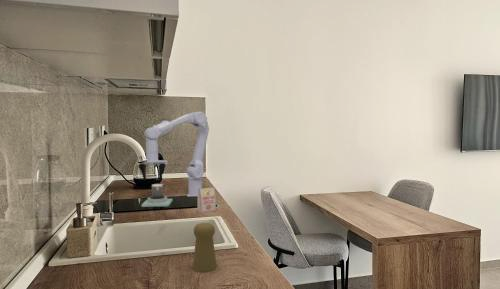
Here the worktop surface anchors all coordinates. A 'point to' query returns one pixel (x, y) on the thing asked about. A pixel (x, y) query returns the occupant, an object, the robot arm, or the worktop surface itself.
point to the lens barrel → (157, 191)
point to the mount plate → (157, 203)
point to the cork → (204, 248)
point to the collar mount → (157, 200)
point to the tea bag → (206, 200)
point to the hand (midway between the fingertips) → (152, 179)
